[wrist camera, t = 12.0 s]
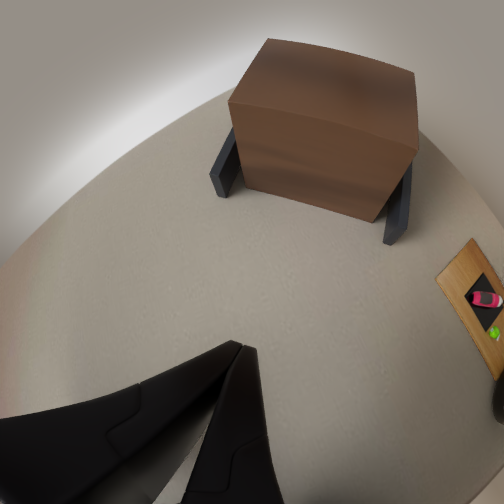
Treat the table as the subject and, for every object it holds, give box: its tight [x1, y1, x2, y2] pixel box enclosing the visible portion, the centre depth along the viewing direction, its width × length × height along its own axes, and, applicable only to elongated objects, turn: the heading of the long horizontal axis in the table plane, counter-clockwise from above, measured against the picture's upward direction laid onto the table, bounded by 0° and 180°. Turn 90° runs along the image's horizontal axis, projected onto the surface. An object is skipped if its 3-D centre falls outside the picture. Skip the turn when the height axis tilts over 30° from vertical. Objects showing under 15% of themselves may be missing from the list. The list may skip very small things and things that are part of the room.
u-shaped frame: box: [209, 127, 412, 245], centre depth 23 cm, size 11×15×4 cm
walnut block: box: [228, 38, 419, 223], centre depth 20 cm, size 8×11×10 cm
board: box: [435, 238, 504, 381], centre depth 18 cm, size 6×12×2 cm, turn 34°
